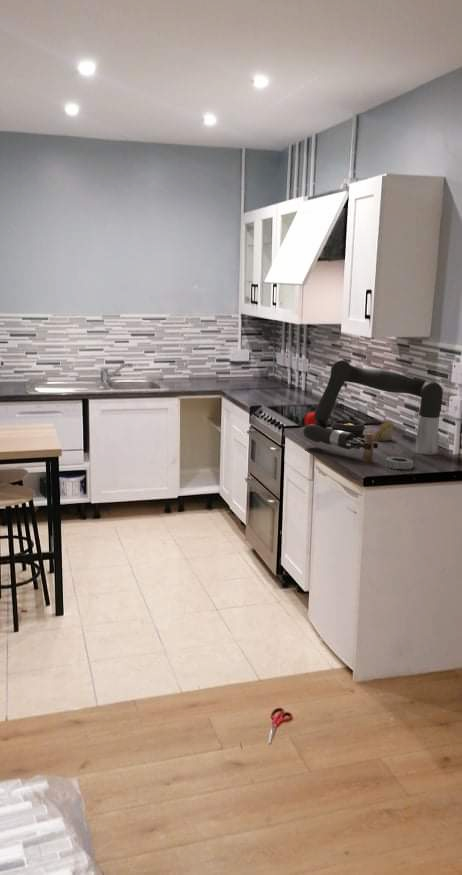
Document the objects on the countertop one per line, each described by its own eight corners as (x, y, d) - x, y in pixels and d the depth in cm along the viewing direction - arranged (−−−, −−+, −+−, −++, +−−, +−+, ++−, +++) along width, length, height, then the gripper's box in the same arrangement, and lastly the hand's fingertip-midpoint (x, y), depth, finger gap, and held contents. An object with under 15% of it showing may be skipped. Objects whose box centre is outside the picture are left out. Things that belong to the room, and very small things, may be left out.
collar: (406, 463, 323) (407, 457, 322) (415, 470, 312) (416, 463, 312) (382, 463, 322) (382, 456, 321) (390, 469, 311) (390, 462, 311)
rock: (376, 437, 365) (396, 435, 366) (372, 422, 369) (392, 420, 369) (372, 446, 375) (391, 444, 376) (368, 431, 379) (388, 429, 379)
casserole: (376, 444, 362) (377, 427, 360) (341, 445, 356) (342, 427, 355) (352, 433, 385) (353, 417, 384) (319, 434, 379) (320, 418, 378)
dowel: (370, 460, 327) (373, 433, 324) (373, 462, 323) (375, 435, 321) (361, 459, 326) (364, 433, 324) (364, 462, 323) (366, 434, 320)
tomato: (328, 431, 387) (329, 414, 385) (305, 431, 387) (306, 413, 385) (325, 428, 397) (326, 411, 395) (303, 427, 397) (304, 410, 395)
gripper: (333, 432, 328) (365, 439, 316) (352, 429, 337) (384, 436, 325) (331, 449, 329) (363, 457, 317) (351, 445, 339) (383, 453, 327)
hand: (374, 446), depth 321 cm, fingers closed on dowel, 4 cm apart
